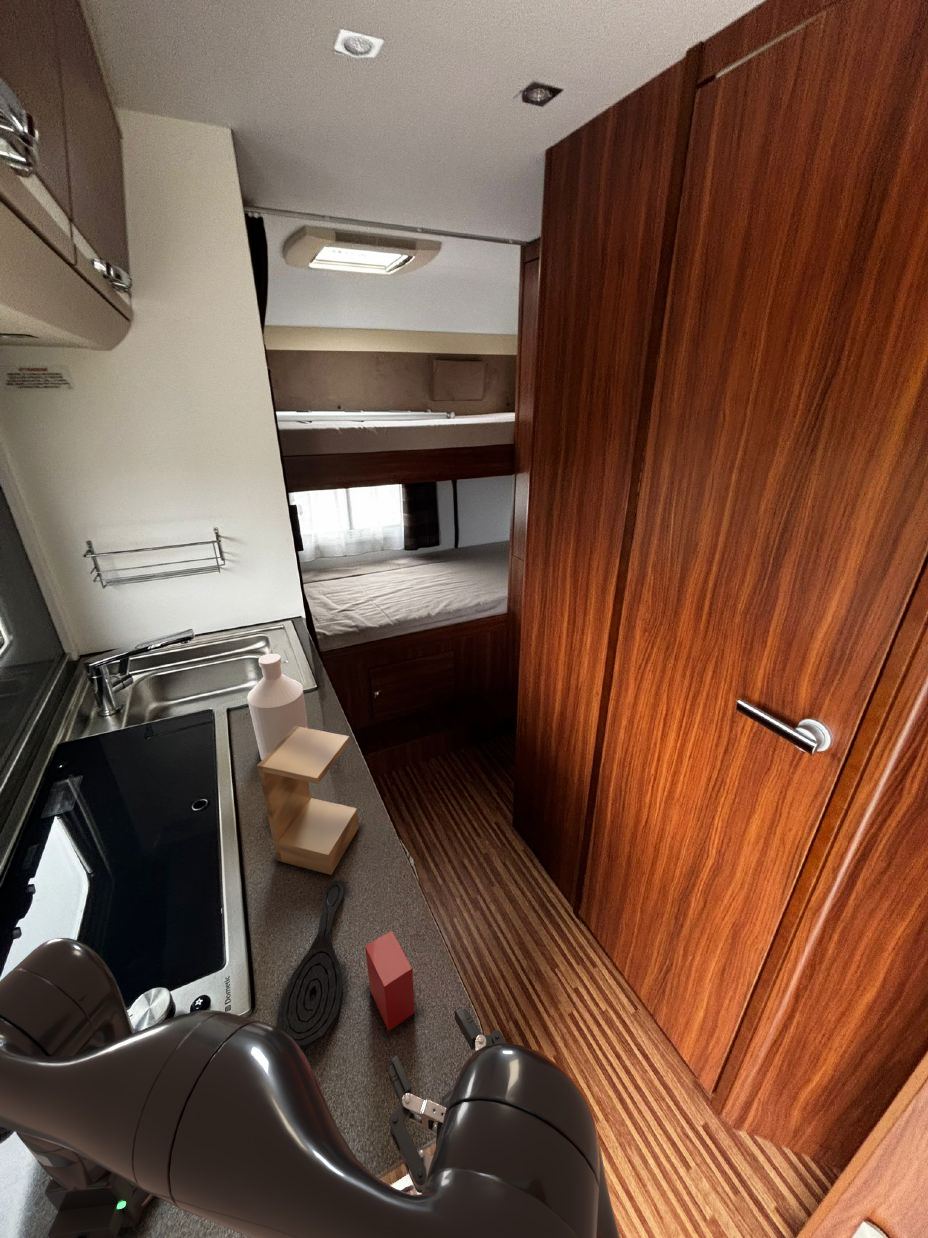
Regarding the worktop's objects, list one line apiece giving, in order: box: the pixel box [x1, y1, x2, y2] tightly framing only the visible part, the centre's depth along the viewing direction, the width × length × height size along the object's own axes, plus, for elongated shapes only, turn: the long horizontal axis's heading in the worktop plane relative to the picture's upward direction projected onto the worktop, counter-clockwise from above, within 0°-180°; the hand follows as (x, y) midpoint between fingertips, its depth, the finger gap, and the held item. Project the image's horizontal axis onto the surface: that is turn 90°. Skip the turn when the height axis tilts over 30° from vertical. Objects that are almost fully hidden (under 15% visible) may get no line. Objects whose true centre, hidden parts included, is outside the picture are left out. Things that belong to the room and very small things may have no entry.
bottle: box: [246, 653, 309, 761], centre depth 112 cm, size 12×12×25 cm
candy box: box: [364, 930, 415, 1032], centre depth 67 cm, size 4×6×10 cm, turn 34°
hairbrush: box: [276, 880, 345, 1051], centre depth 74 cm, size 8×4×25 cm
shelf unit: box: [257, 726, 360, 876], centre depth 89 cm, size 11×11×22 cm
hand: (426, 1035), depth 58 cm, fingers open, 8 cm apart
